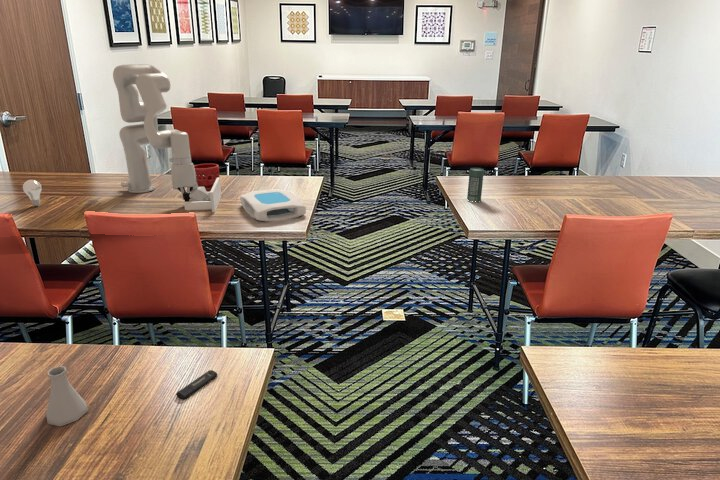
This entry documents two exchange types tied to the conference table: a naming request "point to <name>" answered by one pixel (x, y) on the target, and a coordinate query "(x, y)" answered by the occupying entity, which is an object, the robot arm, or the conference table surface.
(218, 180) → the two-post plank stand
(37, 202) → the light bulb
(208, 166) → the plant pot
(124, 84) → the robot arm
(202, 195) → the die
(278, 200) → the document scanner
